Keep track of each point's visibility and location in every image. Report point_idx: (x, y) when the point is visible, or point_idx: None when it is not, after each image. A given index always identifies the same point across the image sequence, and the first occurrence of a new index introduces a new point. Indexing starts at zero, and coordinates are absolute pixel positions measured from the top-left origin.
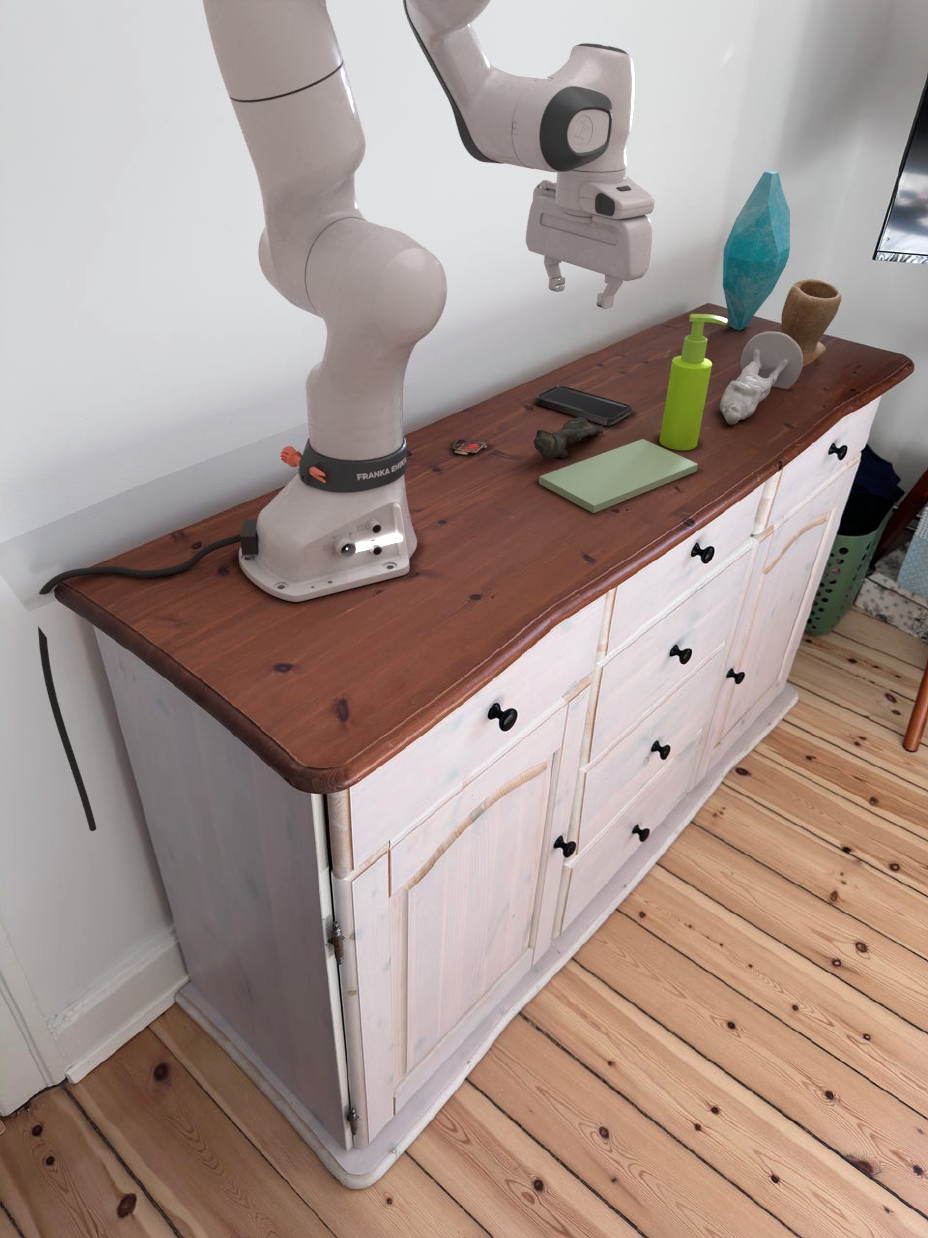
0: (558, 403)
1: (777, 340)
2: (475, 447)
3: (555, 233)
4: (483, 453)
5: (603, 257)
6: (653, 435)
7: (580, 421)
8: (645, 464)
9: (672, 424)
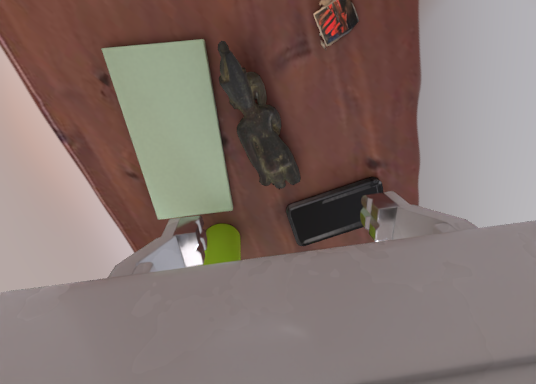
0: (352, 191)
1: None
2: (326, 25)
3: (529, 322)
4: (311, 31)
5: (98, 333)
6: (247, 229)
7: (273, 162)
8: (178, 174)
9: (213, 239)
